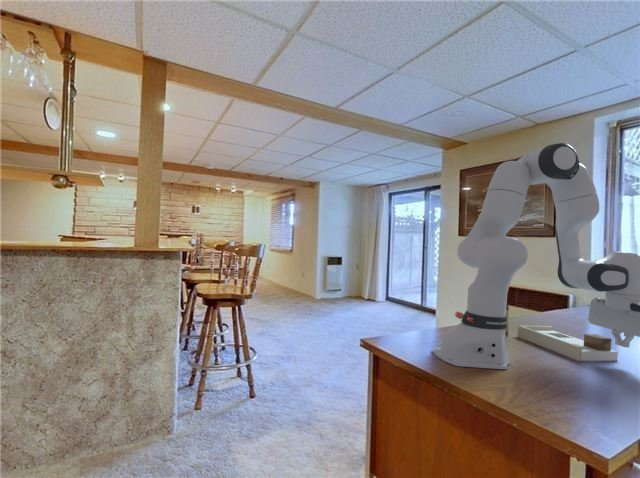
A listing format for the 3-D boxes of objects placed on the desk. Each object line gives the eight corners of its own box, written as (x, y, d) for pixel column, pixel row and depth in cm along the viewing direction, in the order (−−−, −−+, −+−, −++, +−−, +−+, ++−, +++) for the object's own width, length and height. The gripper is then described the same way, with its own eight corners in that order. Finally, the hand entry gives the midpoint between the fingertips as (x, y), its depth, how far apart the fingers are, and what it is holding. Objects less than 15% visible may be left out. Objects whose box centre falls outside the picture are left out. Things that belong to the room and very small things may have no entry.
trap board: (578, 360, 105) (579, 347, 105) (517, 336, 131) (518, 325, 131) (617, 360, 108) (617, 347, 108) (549, 336, 133) (550, 326, 133)
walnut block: (598, 350, 108) (598, 338, 108) (583, 345, 112) (584, 334, 113) (610, 350, 108) (611, 338, 108) (595, 345, 113) (596, 334, 113)
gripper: (583, 296, 113) (582, 336, 113) (652, 309, 93) (651, 357, 93) (599, 296, 114) (597, 336, 114) (670, 309, 94) (668, 357, 94)
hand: (622, 346), depth 103 cm, fingers closed
